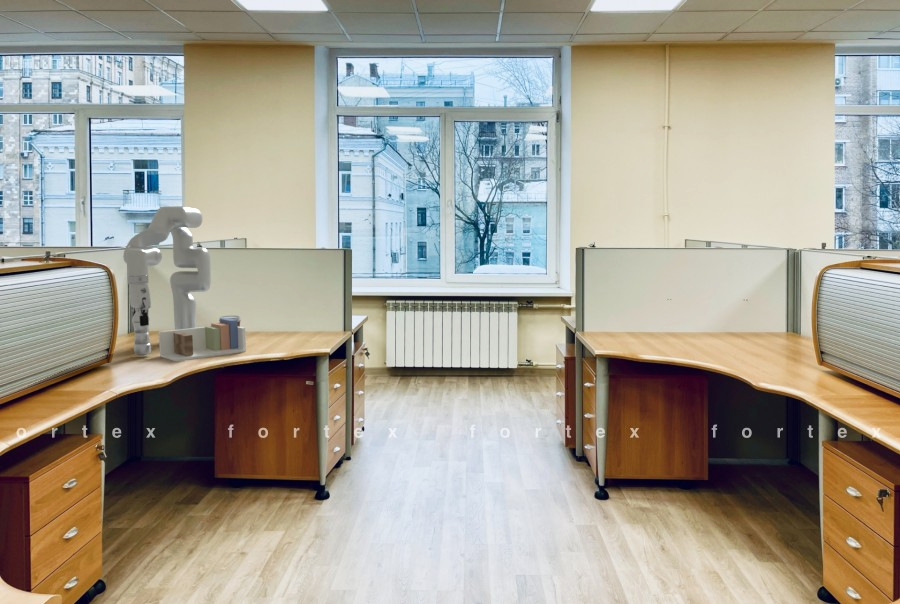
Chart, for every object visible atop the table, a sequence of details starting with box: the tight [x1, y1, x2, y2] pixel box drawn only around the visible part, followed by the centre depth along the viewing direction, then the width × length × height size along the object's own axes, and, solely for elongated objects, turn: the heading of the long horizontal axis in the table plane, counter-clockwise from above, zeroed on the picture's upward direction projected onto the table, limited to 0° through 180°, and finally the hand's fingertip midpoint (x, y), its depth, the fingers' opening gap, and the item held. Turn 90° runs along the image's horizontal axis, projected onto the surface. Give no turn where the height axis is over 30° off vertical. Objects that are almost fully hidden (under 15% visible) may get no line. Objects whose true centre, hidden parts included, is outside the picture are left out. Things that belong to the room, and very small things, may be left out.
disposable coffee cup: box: [218, 315, 242, 327], centre depth 317 cm, size 10×10×12 cm
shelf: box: [158, 318, 247, 362], centre depth 292 cm, size 15×30×13 cm, turn 134°
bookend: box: [173, 332, 193, 356], centre depth 286 cm, size 11×3×8 cm, turn 44°
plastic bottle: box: [131, 307, 152, 356], centre depth 285 cm, size 6×7×20 cm
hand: (140, 324), depth 285 cm, fingers closed on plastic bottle, 6 cm apart
